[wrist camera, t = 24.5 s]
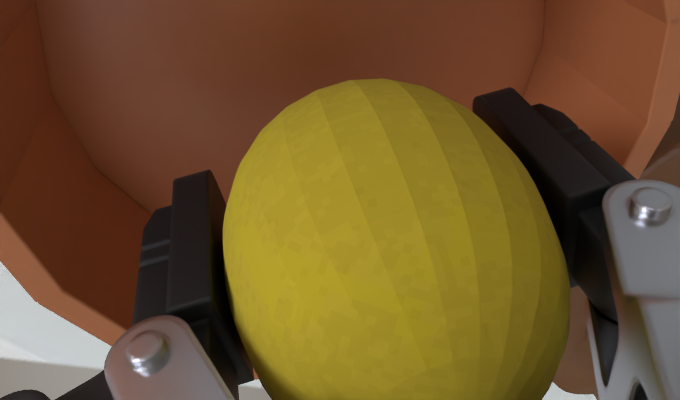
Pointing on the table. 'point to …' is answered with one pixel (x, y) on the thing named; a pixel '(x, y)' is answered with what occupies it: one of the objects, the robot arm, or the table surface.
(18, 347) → the table surface
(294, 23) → the pot
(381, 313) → the lemon
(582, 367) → the plant
